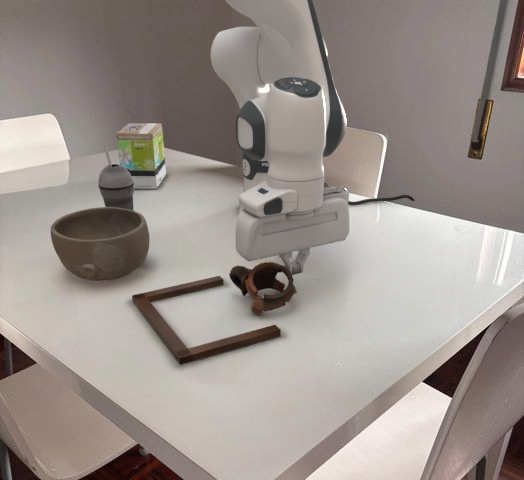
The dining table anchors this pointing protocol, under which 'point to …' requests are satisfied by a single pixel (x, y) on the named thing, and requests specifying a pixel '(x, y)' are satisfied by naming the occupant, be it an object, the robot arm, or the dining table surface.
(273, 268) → the broken brown mug
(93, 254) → the bowl
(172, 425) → the dining table surface
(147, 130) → the tea box
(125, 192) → the beverage cup
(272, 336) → the frame
